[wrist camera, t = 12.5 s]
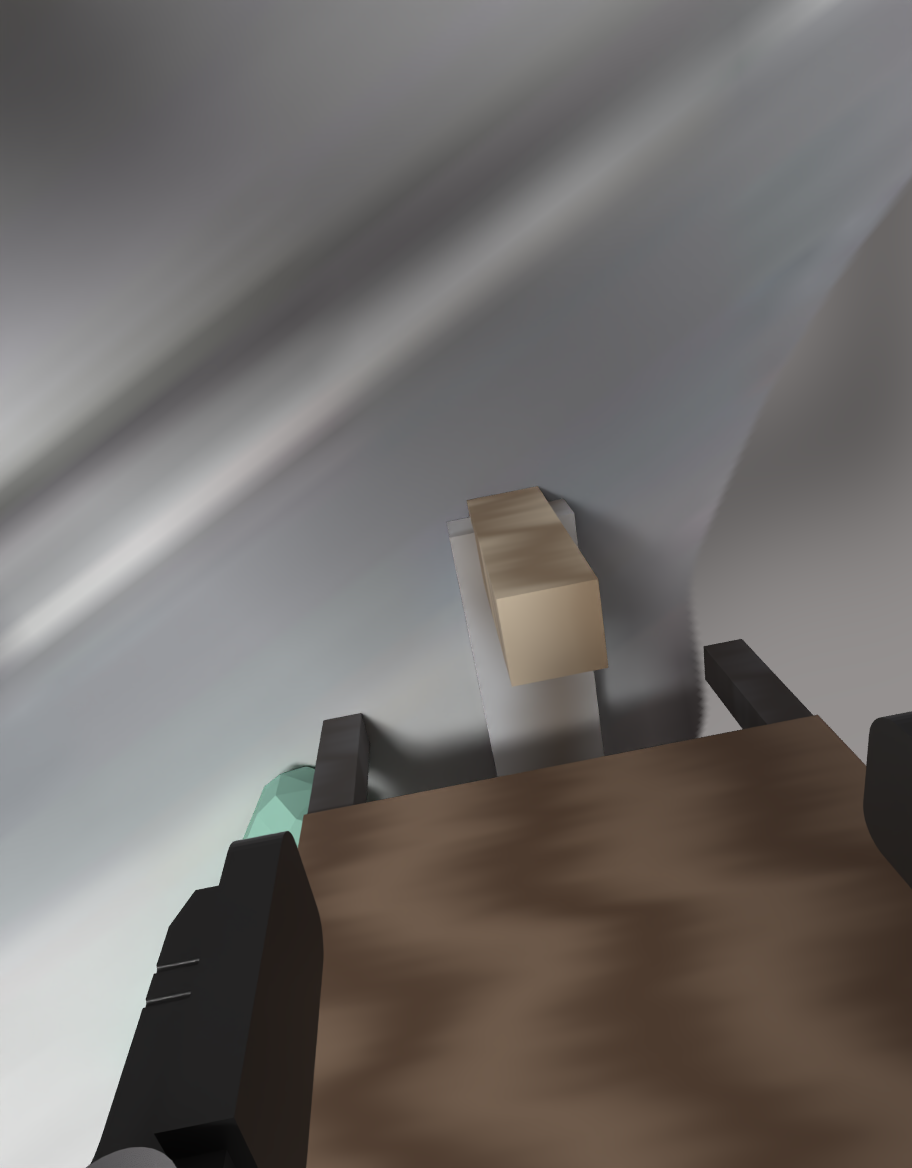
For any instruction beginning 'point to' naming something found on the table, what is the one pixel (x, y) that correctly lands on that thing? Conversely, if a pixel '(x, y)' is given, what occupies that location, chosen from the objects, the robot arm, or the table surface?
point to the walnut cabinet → (614, 956)
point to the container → (283, 804)
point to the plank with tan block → (531, 628)
